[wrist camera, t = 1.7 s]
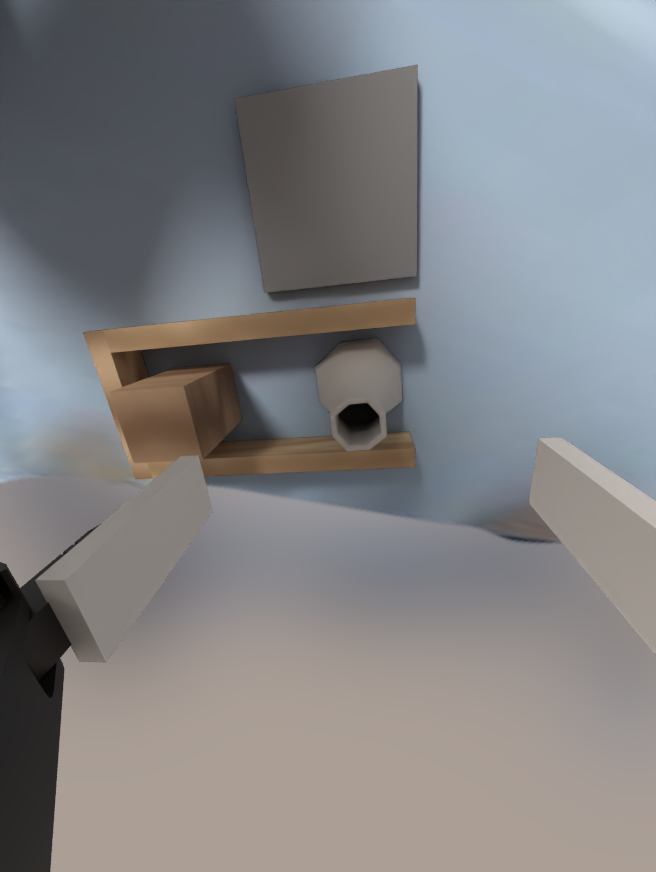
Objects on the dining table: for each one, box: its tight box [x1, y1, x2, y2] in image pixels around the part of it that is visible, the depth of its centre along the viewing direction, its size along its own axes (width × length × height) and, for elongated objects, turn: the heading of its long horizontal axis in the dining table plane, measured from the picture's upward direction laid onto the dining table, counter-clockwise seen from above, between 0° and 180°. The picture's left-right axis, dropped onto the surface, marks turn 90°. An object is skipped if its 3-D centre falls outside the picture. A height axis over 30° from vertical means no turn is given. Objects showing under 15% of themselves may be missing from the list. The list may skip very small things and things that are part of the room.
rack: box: [83, 298, 416, 479], centre depth 26 cm, size 12×24×4 cm, turn 96°
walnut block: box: [109, 363, 242, 463], centre depth 25 cm, size 5×5×8 cm
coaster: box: [235, 65, 418, 293], centre depth 22 cm, size 11×11×1 cm
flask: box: [315, 338, 403, 451], centre depth 23 cm, size 7×7×10 cm
